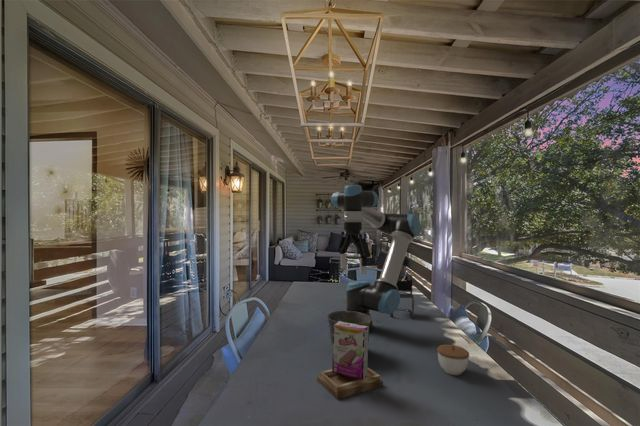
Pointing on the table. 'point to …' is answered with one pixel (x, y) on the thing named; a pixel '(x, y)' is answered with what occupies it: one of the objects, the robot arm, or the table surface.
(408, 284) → the chair
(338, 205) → the robot arm
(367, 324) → the dark grey pot
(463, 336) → the table surface
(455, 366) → the lidded jar
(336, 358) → the candy bar box
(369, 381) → the wooden tray
